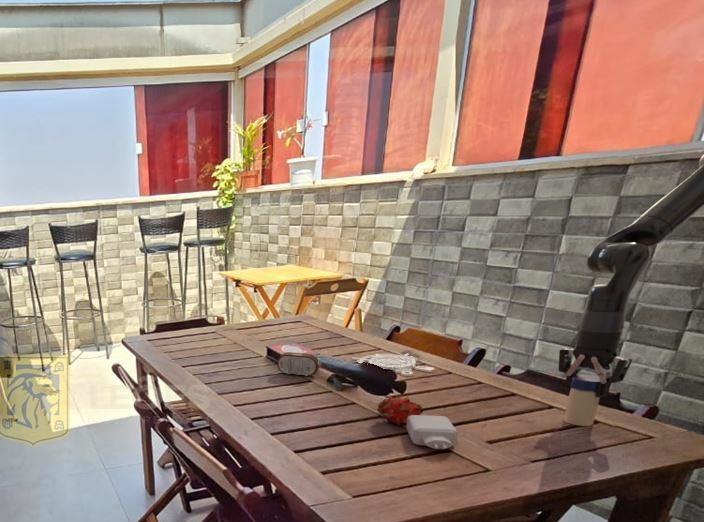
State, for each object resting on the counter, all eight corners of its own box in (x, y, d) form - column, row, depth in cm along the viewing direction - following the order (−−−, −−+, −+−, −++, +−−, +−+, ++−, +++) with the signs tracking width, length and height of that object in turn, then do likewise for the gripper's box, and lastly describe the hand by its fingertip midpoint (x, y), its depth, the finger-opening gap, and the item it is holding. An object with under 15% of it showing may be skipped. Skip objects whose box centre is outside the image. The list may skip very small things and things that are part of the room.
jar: (566, 416, 130) (575, 376, 127) (595, 420, 126) (605, 379, 122) (561, 422, 127) (570, 381, 123) (591, 427, 123) (601, 385, 119)
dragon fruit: (371, 426, 140) (416, 431, 138) (382, 419, 132) (431, 425, 130) (371, 398, 142) (416, 402, 140) (383, 390, 134) (431, 394, 132)
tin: (319, 375, 181) (320, 353, 178) (316, 378, 179) (317, 356, 176) (278, 371, 190) (279, 351, 187) (276, 374, 188) (276, 353, 185)
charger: (417, 455, 119) (405, 430, 132) (462, 458, 116) (446, 432, 129) (419, 438, 118) (407, 414, 131) (465, 440, 114) (448, 416, 127)
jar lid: (565, 387, 125) (567, 378, 124) (575, 382, 127) (577, 373, 127) (597, 393, 120) (599, 383, 119) (607, 387, 122) (609, 377, 122)
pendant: (404, 352, 195) (404, 349, 195) (442, 373, 169) (442, 370, 169) (348, 357, 198) (348, 353, 198) (376, 378, 172) (377, 374, 172)
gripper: (556, 325, 124) (542, 388, 130) (626, 335, 111) (608, 404, 117) (577, 321, 126) (564, 383, 131) (649, 330, 113) (631, 398, 118)
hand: (585, 392), depth 124 cm, fingers closed on jar lid, 6 cm apart
